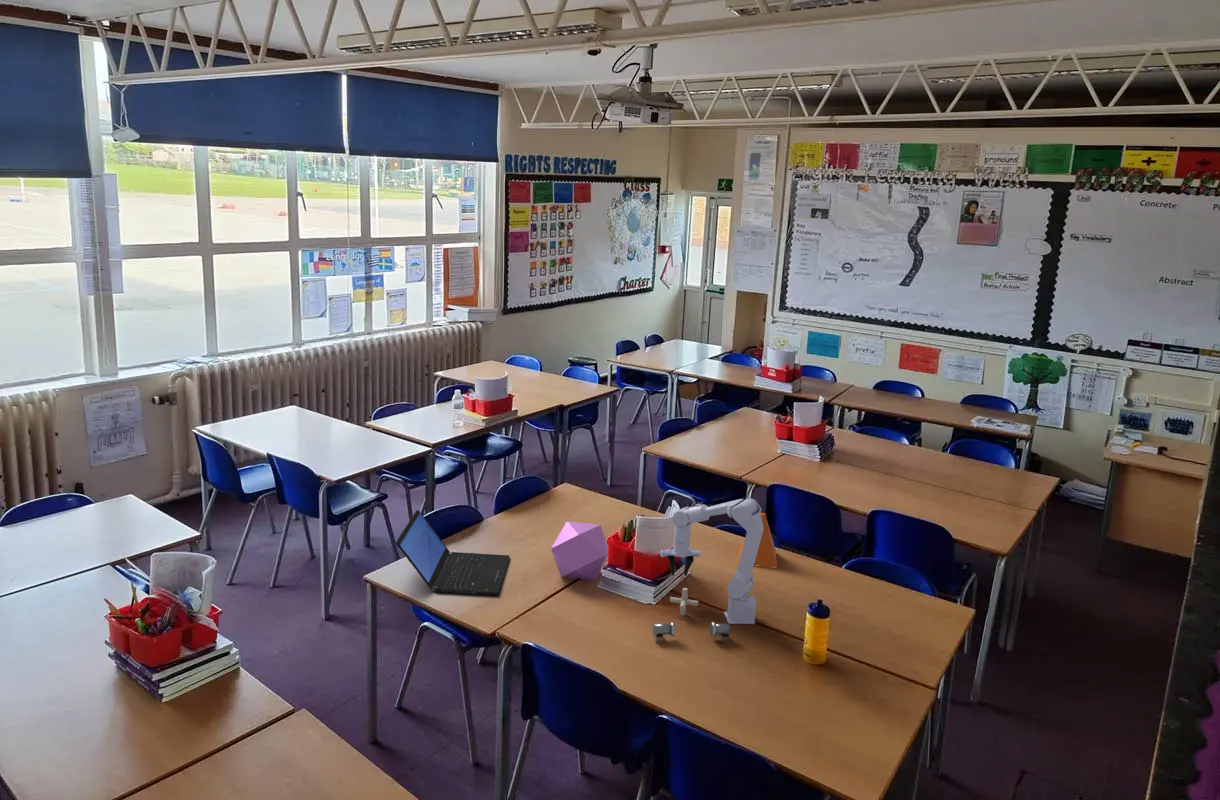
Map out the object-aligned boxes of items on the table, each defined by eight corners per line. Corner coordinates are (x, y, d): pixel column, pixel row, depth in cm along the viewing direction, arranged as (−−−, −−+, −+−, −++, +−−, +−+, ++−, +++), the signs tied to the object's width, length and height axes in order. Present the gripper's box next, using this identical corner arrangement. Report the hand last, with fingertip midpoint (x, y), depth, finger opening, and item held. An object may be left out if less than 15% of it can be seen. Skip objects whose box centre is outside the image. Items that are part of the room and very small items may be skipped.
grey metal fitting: (671, 635, 288) (673, 619, 287) (674, 643, 283) (675, 626, 282) (651, 635, 288) (652, 619, 286) (653, 643, 283) (654, 626, 281)
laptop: (498, 598, 308) (499, 548, 303) (395, 591, 308) (394, 542, 303) (510, 558, 340) (511, 513, 335) (417, 553, 340) (417, 507, 335)
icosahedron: (561, 538, 344) (556, 506, 325) (613, 544, 342) (611, 511, 322) (551, 588, 331) (545, 558, 311) (605, 595, 328) (602, 564, 309)
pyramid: (738, 564, 346) (742, 518, 341) (738, 548, 361) (743, 504, 356) (777, 569, 344) (782, 523, 339) (776, 553, 359) (781, 509, 354)
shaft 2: (726, 635, 290) (728, 619, 289) (729, 643, 285) (731, 626, 284) (709, 635, 290) (710, 619, 288) (712, 643, 285) (713, 626, 283)
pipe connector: (695, 623, 297) (697, 597, 295) (667, 619, 299) (669, 593, 297) (698, 609, 307) (700, 584, 304) (671, 605, 309) (673, 580, 306)
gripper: (699, 535, 314) (696, 569, 317) (660, 535, 312) (657, 569, 316) (702, 543, 307) (699, 578, 310) (663, 543, 306) (660, 578, 309)
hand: (678, 574), depth 313 cm, fingers open, 4 cm apart
